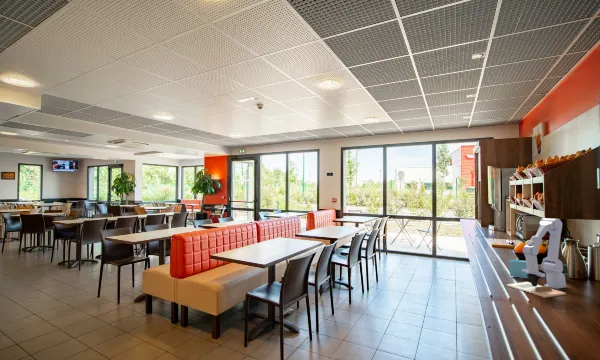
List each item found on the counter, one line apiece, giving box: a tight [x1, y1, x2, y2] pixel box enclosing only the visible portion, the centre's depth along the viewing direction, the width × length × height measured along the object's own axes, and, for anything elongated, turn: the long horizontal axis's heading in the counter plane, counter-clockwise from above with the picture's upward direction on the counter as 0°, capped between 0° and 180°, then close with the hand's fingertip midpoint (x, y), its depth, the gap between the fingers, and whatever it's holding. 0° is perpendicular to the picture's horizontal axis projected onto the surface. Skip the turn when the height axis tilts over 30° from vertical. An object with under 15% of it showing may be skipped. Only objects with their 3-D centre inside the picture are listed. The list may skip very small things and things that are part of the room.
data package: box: [508, 259, 528, 279], centre depth 219 cm, size 12×4×12 cm, turn 46°
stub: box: [531, 285, 567, 299], centre depth 181 cm, size 15×8×4 cm, turn 99°
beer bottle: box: [552, 244, 570, 282], centre depth 207 cm, size 8×8×24 cm
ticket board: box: [506, 281, 543, 294], centre depth 194 cm, size 16×18×1 cm
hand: (534, 286), depth 190 cm, fingers closed
